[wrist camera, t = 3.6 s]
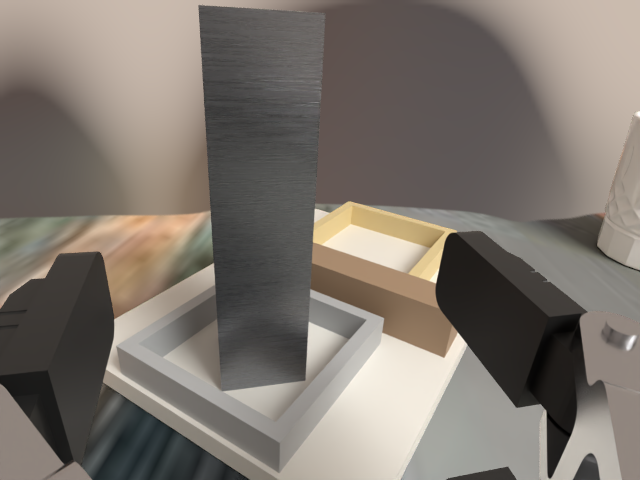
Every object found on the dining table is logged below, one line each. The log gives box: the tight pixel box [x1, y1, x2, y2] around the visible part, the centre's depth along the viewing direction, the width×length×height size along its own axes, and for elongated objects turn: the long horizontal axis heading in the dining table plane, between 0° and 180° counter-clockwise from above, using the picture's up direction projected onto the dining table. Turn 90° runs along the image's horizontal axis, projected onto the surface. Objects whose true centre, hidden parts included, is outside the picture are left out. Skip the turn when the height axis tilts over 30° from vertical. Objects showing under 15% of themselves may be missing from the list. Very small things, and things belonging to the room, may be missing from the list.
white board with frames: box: [103, 201, 467, 480], centre depth 24 cm, size 20×15×4 cm
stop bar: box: [199, 5, 325, 392], centre depth 17 cm, size 4×4×14 cm
